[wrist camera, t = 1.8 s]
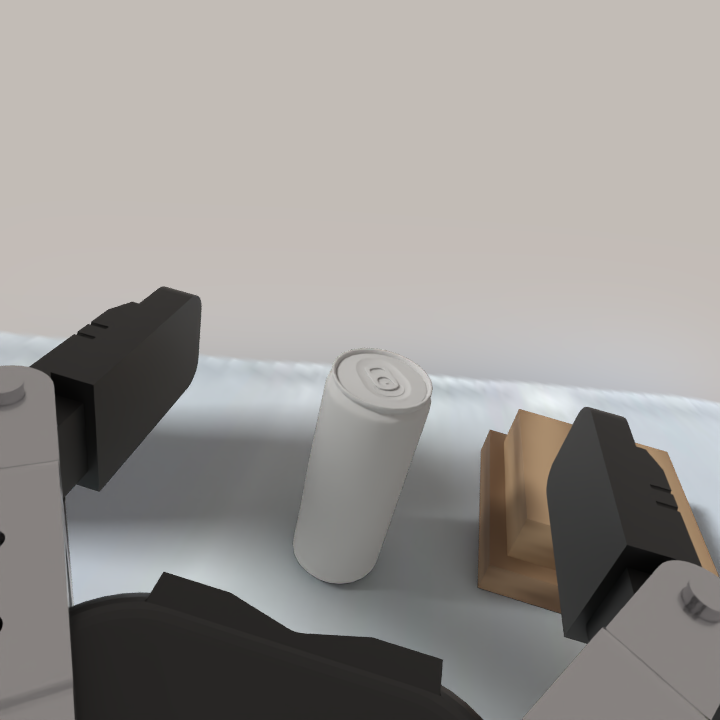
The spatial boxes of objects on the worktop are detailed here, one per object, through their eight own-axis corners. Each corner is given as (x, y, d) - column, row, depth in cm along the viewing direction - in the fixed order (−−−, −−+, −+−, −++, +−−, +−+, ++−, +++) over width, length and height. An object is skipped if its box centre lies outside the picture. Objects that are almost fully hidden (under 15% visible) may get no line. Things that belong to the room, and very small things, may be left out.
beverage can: (307, 600, 28) (355, 416, 22) (279, 525, 32) (313, 348, 26) (390, 577, 31) (456, 404, 24) (355, 510, 34) (404, 343, 28)
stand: (477, 587, 31) (509, 527, 29) (480, 450, 41) (504, 396, 39) (693, 654, 31) (746, 599, 28) (642, 498, 41) (678, 447, 38)
